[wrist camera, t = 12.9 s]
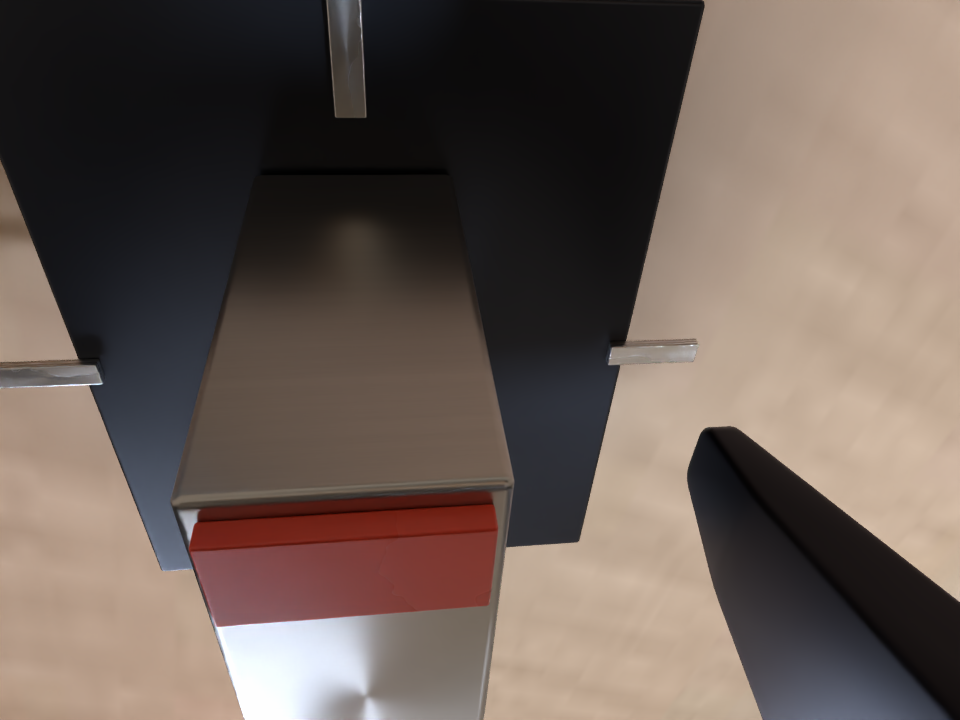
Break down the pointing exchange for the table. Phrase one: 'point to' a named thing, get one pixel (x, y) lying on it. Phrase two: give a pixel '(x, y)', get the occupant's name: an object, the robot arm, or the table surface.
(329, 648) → the red-capped metal block
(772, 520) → the robot arm
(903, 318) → the table surface
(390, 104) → the panel
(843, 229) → the table surface
